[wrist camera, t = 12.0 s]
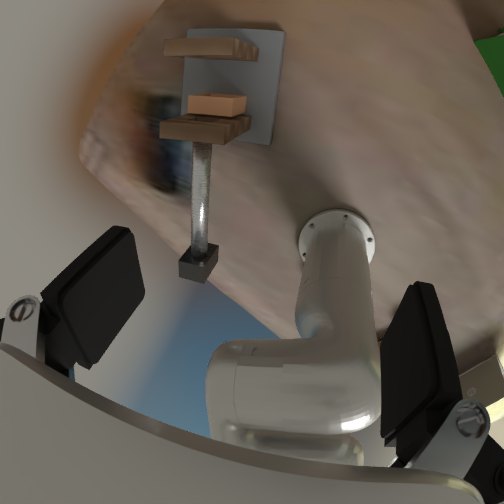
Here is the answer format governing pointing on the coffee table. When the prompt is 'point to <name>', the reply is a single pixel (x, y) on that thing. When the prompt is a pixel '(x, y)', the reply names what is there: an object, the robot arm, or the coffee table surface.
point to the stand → (203, 124)
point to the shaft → (199, 219)
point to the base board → (240, 77)
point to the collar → (216, 104)
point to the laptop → (484, 382)
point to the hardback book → (494, 56)
